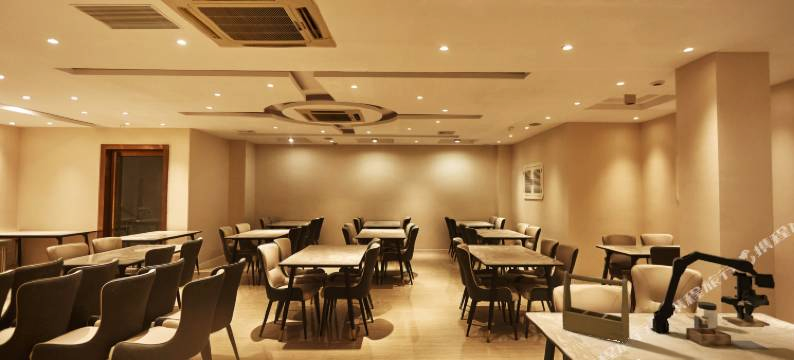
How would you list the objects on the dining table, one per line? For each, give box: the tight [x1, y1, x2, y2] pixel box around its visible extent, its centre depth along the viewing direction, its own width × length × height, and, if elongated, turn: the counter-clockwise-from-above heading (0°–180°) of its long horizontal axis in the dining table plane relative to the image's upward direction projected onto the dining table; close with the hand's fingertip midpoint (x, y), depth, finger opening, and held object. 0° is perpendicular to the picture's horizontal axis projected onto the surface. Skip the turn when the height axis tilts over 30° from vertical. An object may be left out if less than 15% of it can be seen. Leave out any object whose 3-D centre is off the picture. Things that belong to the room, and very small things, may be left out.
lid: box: [721, 312, 770, 328], centre depth 190 cm, size 14×10×5 cm
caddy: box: [561, 270, 630, 344], centre depth 204 cm, size 29×11×30 cm, turn 47°
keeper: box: [693, 316, 708, 328], centre depth 204 cm, size 5×3×9 cm, turn 90°
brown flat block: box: [685, 327, 732, 347], centre depth 194 cm, size 14×10×5 cm
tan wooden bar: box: [685, 312, 709, 324], centre depth 207 cm, size 2×13×2 cm, turn 0°
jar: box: [696, 301, 719, 329], centre depth 218 cm, size 9×8×12 cm
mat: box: [731, 339, 770, 350], centre depth 190 cm, size 13×10×1 cm
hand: (745, 318), depth 190 cm, fingers closed on lid, 3 cm apart
